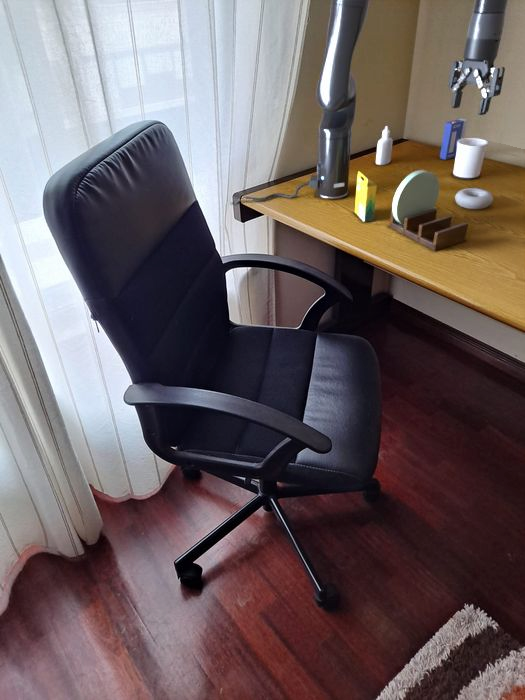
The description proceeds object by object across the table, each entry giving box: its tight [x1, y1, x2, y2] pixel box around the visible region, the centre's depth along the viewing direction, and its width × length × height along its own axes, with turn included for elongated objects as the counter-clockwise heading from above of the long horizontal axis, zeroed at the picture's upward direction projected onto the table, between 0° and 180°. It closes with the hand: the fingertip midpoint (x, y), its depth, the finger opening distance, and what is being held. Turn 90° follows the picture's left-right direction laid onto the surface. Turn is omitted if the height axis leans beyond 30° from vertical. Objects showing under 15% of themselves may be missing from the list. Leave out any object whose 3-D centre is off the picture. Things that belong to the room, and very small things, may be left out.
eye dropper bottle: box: [375, 125, 394, 166], centre depth 168 cm, size 4×6×12 cm
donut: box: [454, 187, 494, 210], centre depth 140 cm, size 10×4×10 cm
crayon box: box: [354, 170, 378, 223], centre depth 134 cm, size 7×3×12 cm, turn 12°
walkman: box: [439, 118, 468, 160], centre depth 170 cm, size 8×3×12 cm, turn 122°
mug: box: [452, 137, 489, 181], centre depth 156 cm, size 11×9×10 cm
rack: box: [389, 208, 469, 252], centre depth 126 cm, size 17×10×4 cm, turn 29°
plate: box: [391, 169, 440, 226], centre depth 127 cm, size 2×14×14 cm, turn 119°
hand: (468, 111), depth 125 cm, fingers open, 8 cm apart
